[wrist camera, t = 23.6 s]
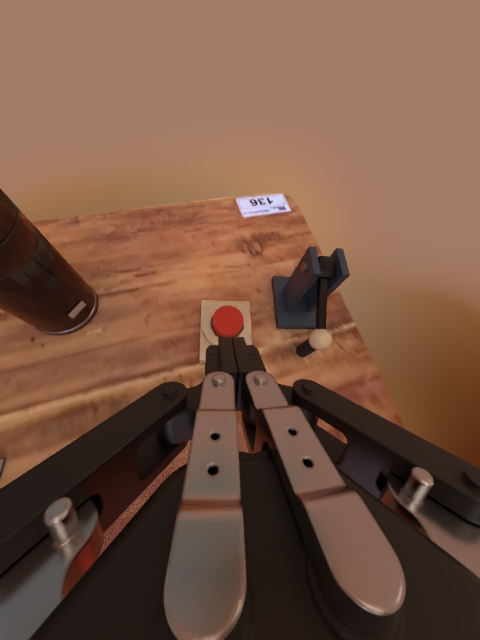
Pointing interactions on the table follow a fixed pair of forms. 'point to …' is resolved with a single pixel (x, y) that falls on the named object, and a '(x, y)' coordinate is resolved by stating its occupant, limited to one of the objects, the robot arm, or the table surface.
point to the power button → (227, 321)
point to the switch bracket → (304, 290)
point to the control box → (206, 327)
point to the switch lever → (322, 305)
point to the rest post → (304, 349)
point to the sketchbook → (1, 465)
